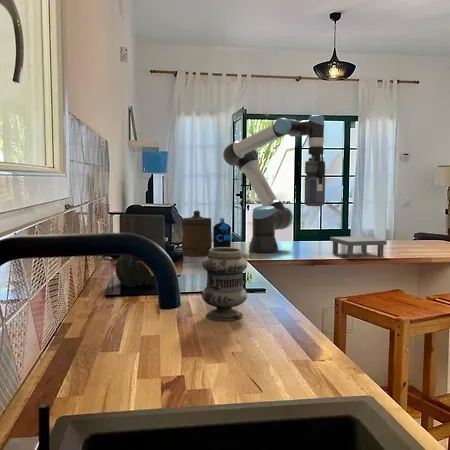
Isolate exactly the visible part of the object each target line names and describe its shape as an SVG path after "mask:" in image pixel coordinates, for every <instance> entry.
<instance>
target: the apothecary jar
mask: <svg viewBox="0 0 450 450" xmlns="http://www.w3.org/2000/svg"><path fill="white" fill-rule="evenodd" d="M247 267H248V261H247V260H246V259H245V257H243V255H242V249H240V248H237V247H217V248H213V247H212V248H211V249H210V250H209V254H208V256H205V258H204V259H203V261H202V268H203V269H204V270H205V271H206V274H207V277H206V287H204V289H203V290H202V292H201V293H202V294H201V298H202V300H203V301H204V302H205V303H206V304H207V305H209V306H212V307H215V308H214V309H212V310H209V311H208V312H207V313H205V317H206V318H207V319H210V320H214V321H220V322H230V321H234V320H235V321H236V320H237V319H238V320H240V319H242V318H243V316H244V315H243V313H242V312H241V311H238V310H237V309H235V307H239V306H240V305H242V304H244V303H245V302H246V300H247V298H248V293H247V290H246V289H245V288H244V285H243V282H244V281H243V273H244V271H245V270H246V269H247Z"/></svg>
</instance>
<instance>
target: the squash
mask: <svg viewBox="0 0 450 450" xmlns="http://www.w3.org/2000/svg"><path fill="white" fill-rule="evenodd" d="M114 269H115V275H116V277H117V279H118V281H119V282H120V284H122V285H123V286H124V287H125V286H126V287H131V288H135V287H138V285H139V286H141V285H145V286H152V285H154V284H155V283H154V279H153V277H152V275H151V273H150V272H149V270H148V269H147V268H146V267H145V266H144V265H143V264H142V263H141V262H139V261H137V260H134V259H132V258H128V257H123V256H121V255H120V256H119V257H118V258H117V261H116V263H115V268H114Z"/></svg>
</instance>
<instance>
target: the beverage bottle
mask: <svg viewBox="0 0 450 450" xmlns="http://www.w3.org/2000/svg"><path fill="white" fill-rule="evenodd" d="M311 156H312V155H311ZM323 162H324V172H325V173H326V162H325V160H324V161H323ZM317 169H318V170H319V167H318V161H315V156H312V161H309V160H306V161H305V162H304V173H305V175H306V176H304V202H303V203H304V205H305V206H307V207H323V206H324V205H325V204H326V202H325V201H326V198H325V196H326V195H325V194H326V193H325V192H326V188H325V187H326V176H323V185H322V191H317V176H318V175H317Z"/></svg>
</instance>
